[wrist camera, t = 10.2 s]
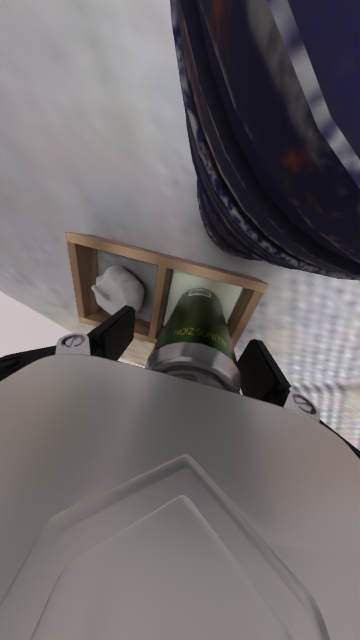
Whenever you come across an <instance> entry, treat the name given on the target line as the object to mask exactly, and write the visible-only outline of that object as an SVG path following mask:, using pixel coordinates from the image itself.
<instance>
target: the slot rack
mask: <svg viewBox="0 0 360 640" xmlns="http://www.w3.org/2000/svg"><path fill="white" fill-rule="evenodd" d="M66 238H67V244H68V251H69V257H70V264H71V270H72V277H73V283H74V289H75V296H76V302H77V309H78V315H79V322H81V323H85V324H88V325H92V326H95V327H97V326H99V325H100V324H101V323H103V322H104V321H105V320H107V319H108V318H109V317H110V316H112V315H111V314H109V313H108V312H107V311H105V310H101V309H100V306H99V305H98V304H97V301H96V297H95V293H94V291H93V290H92V289H91V287H92V286H93V285H96V278H97V277H98V265H97V250H96V249H98V250H102V251H106V252H110V253H113V254H117V255H121V256H125V257H129V258H133V259H136V260H140V261H144V262H148V263H152V264H155V265H158V271H157V278H156V286H155V293H154V301H153V308H152V315H151V323H148V322H144V321H140V320H137V319H135V327H134V338H137V339H141V340H144V341H148V342H151V343H155V344H156V342H157V340H158V338H159V337H160V335H161V333H162V331H163V329H164V327H162V321H163V316H164V310H165V305H166V300H167V294H168V289H169V283H170V278H171V272H172V269H174V272H173V277H172V283H171V288H170V293H169V298H168V304H167V309H166V314H165V319H164V325H163V326H165V325H166V323H167V321H168V319H169V318H170V316H171V314H172V312H173V310H174V308H175V306H176V304H177V302H178V300H179V299H180V298H181V296H182V295H183V294H184V293H186V292H187V291H189V290H192V289H195V288H202V289H206V290H209V291H211V292H212V293H214V294H215V295H216V296H217V297H218V299H219V301H220V303H221V306H222V310H223V313H224V317H225V321H226V324H227V321H228V319H229V317H230V315H231V313H232V310H233V308H234V306H235V304H236V301H237V299H238V297H239V295H240V293H241V290H242V288H244V290H243V292H242V295H241V297H240V299H239V301H238V303H237V306H236V308H235V310H234V312H233V314H232V316H231V319H230V321H229V323H228V325H227V328H228V331H229V335H230V339H231V342H232V346H233V349H234V347H235V346H236V344H237V342H238V340H239V338H240V336H241V334H242V332H243V331H244V329H245V327H246V325H247V323H248V321H249V319H250V317H251V316H252V314H253V312H254V310H255V308H256V306H257V304H258V303H259V301H260V299H261V297H262V295H263V293H264V291H265V289H266V288H267V286H268V284H267V283H265V282H263V281H261V280H259V279H258V278H254V277H251V276H247V275H243V274H239V273H235V272H231V271H227V270H223V269H220V268H216V267H212V266H208V265H204V264H200V263H196V262H193V261H189V260H185V259H181V258H177V257H173V256H169V255H166V254H162V253H158V252H154V251H150V250H146V249H142V248H138V247H135V246H131V245H127V244H123V243H119V242H115V241H111V240H108V239H104V238H100V237H96V236H92V235H87V234H79V233H71V232H66Z"/></svg>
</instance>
